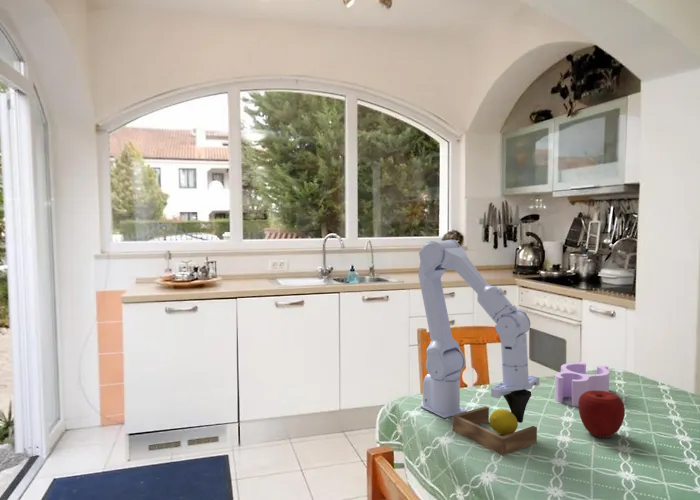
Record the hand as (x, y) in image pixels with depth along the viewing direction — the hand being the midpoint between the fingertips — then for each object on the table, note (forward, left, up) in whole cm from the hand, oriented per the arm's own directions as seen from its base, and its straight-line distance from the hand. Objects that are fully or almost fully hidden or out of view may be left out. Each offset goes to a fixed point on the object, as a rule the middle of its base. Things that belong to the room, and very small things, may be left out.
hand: (517, 421), depth 119 cm
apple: (+11, +15, -3) cm, 19 cm away
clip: (-7, +35, -3) cm, 35 cm away
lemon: (-1, 0, -1) cm, 1 cm away
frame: (-1, -6, -3) cm, 7 cm away
